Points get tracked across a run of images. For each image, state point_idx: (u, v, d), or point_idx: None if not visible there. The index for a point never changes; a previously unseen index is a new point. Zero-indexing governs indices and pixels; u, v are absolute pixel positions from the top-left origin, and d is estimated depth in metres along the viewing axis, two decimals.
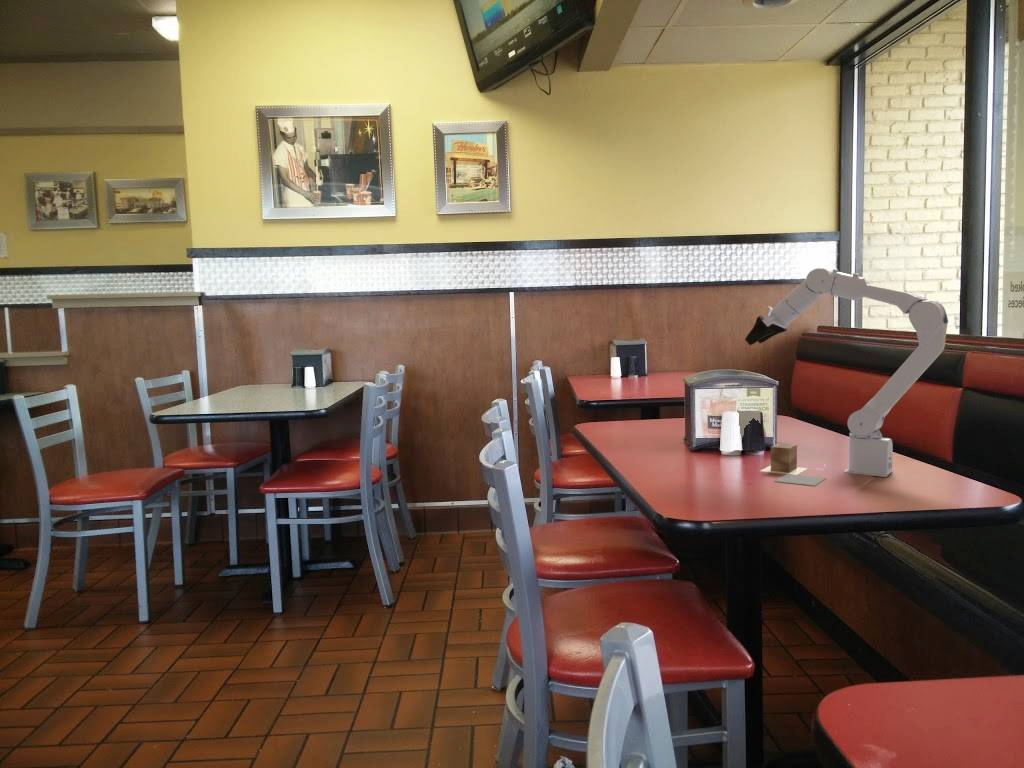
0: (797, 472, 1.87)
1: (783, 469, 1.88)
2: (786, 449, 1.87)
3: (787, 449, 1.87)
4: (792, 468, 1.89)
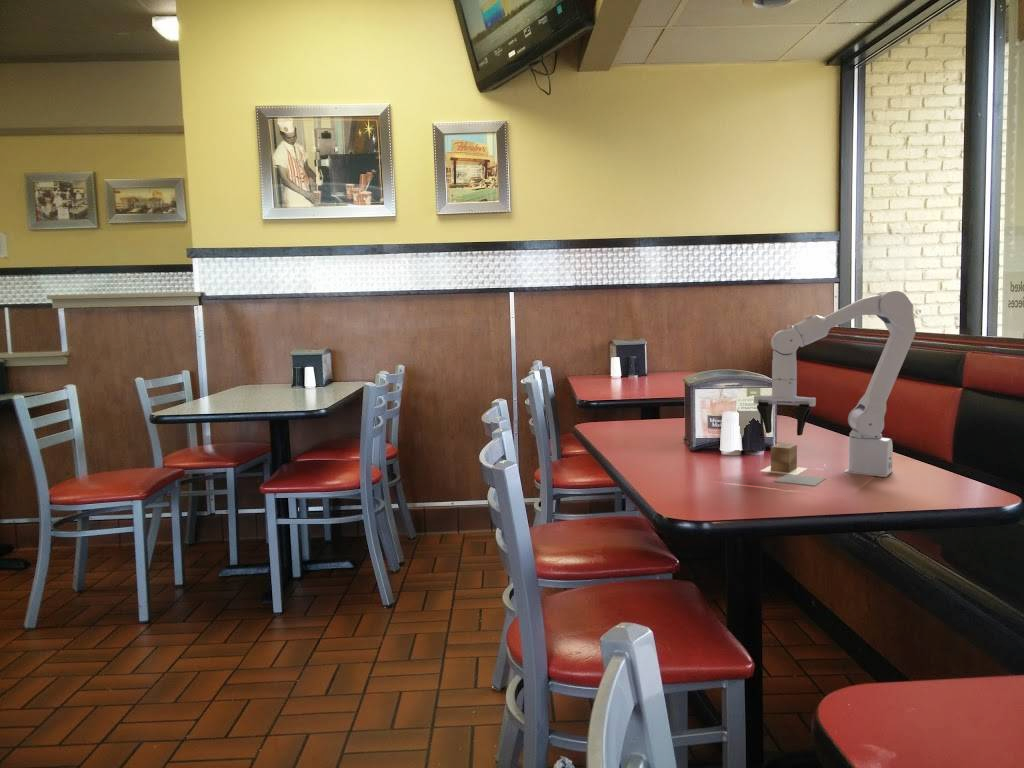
0: (797, 472, 1.87)
1: (783, 469, 1.88)
2: (786, 449, 1.87)
3: (787, 449, 1.87)
4: (792, 468, 1.89)
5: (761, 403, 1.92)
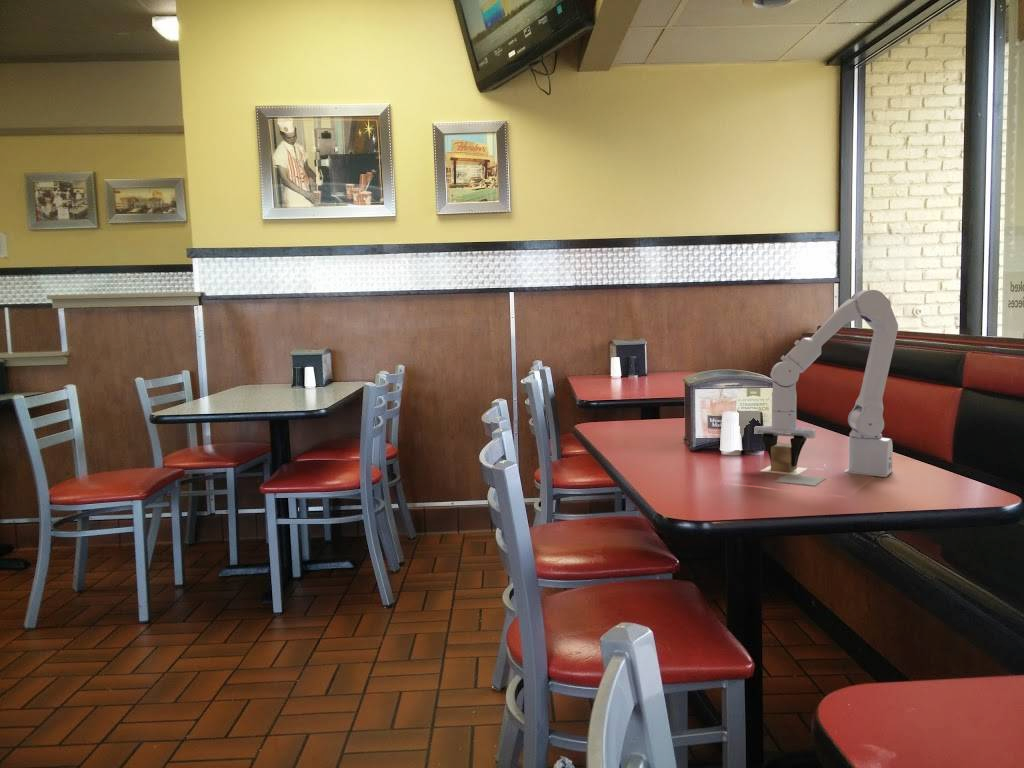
0: (797, 472, 1.87)
1: (783, 469, 1.88)
2: (786, 449, 1.87)
3: (787, 449, 1.87)
4: (792, 468, 1.89)
5: None
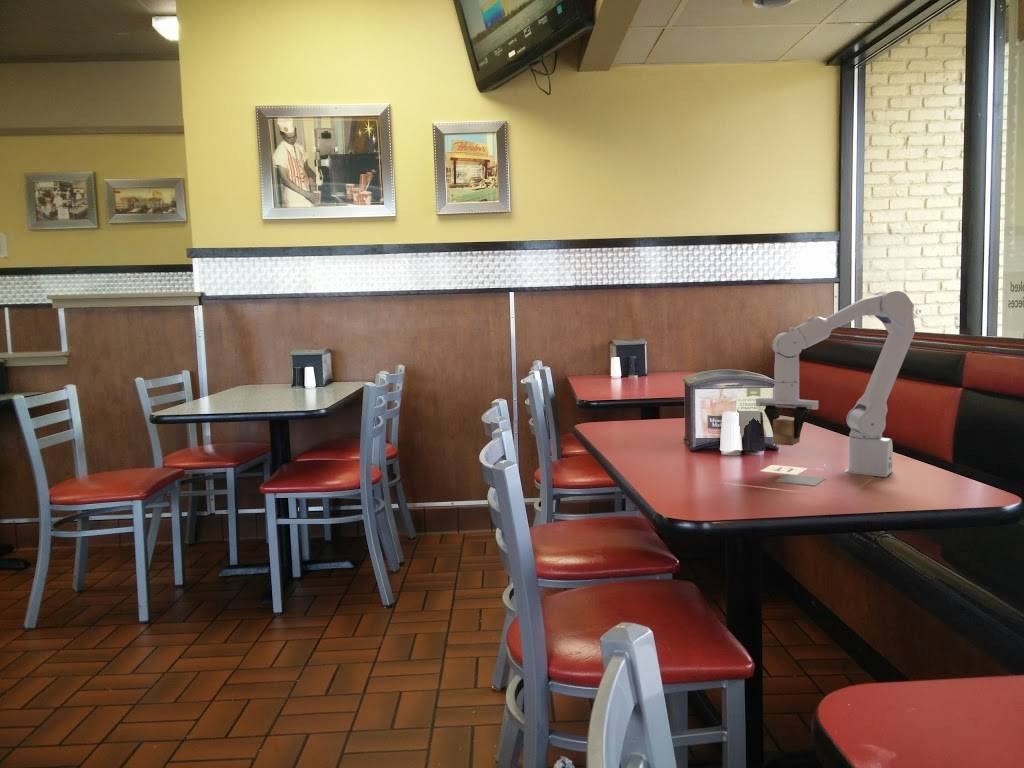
0: (797, 472, 1.87)
1: (785, 442, 1.86)
2: (789, 422, 1.85)
3: (790, 422, 1.85)
4: (795, 441, 1.87)
5: None
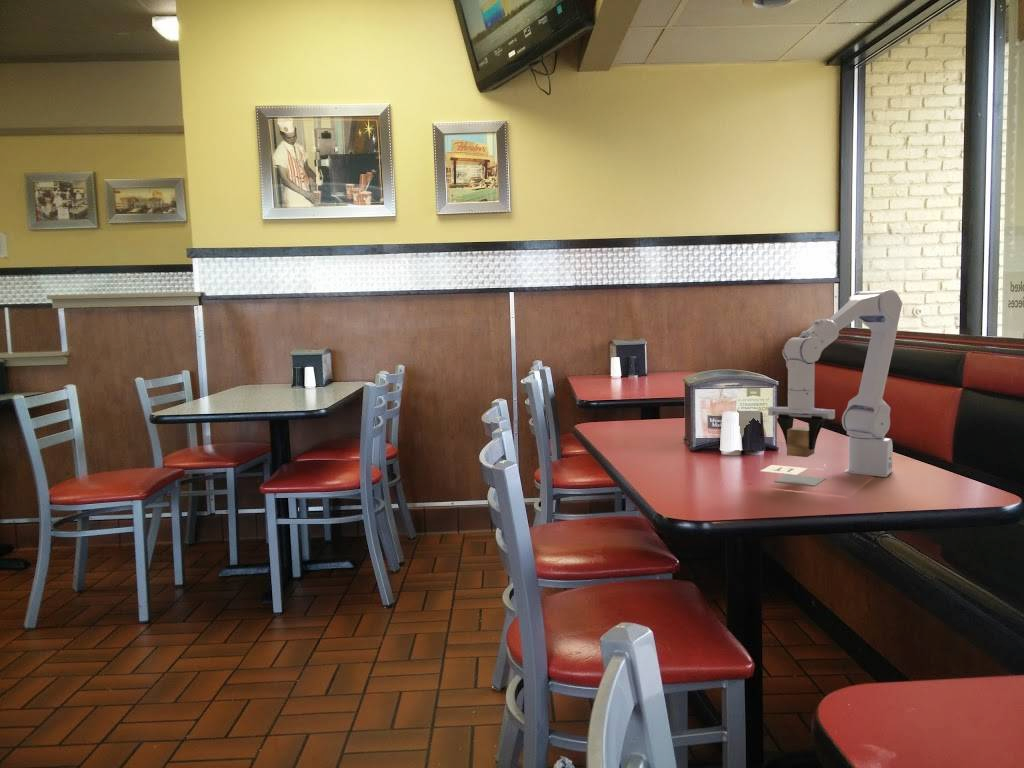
0: (797, 472, 1.87)
1: (800, 453, 1.75)
2: (804, 432, 1.75)
3: (805, 432, 1.74)
4: (810, 452, 1.77)
5: None
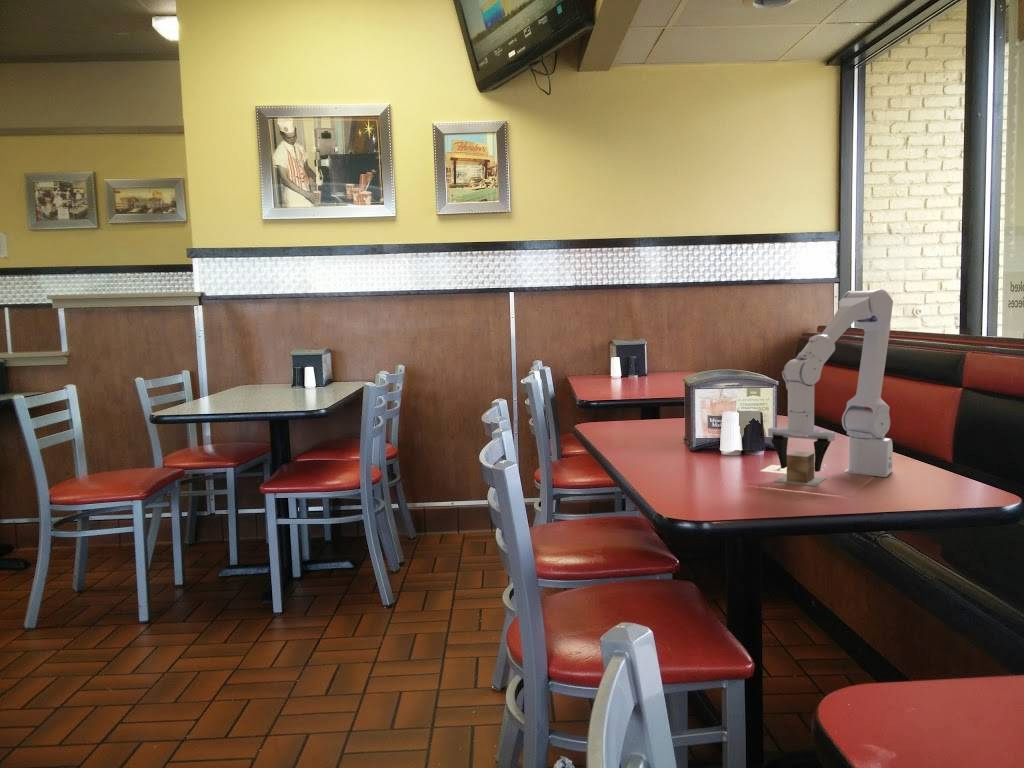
0: None
1: (800, 479, 1.76)
2: (803, 458, 1.75)
3: (804, 458, 1.75)
4: (809, 478, 1.77)
5: (776, 436, 1.80)
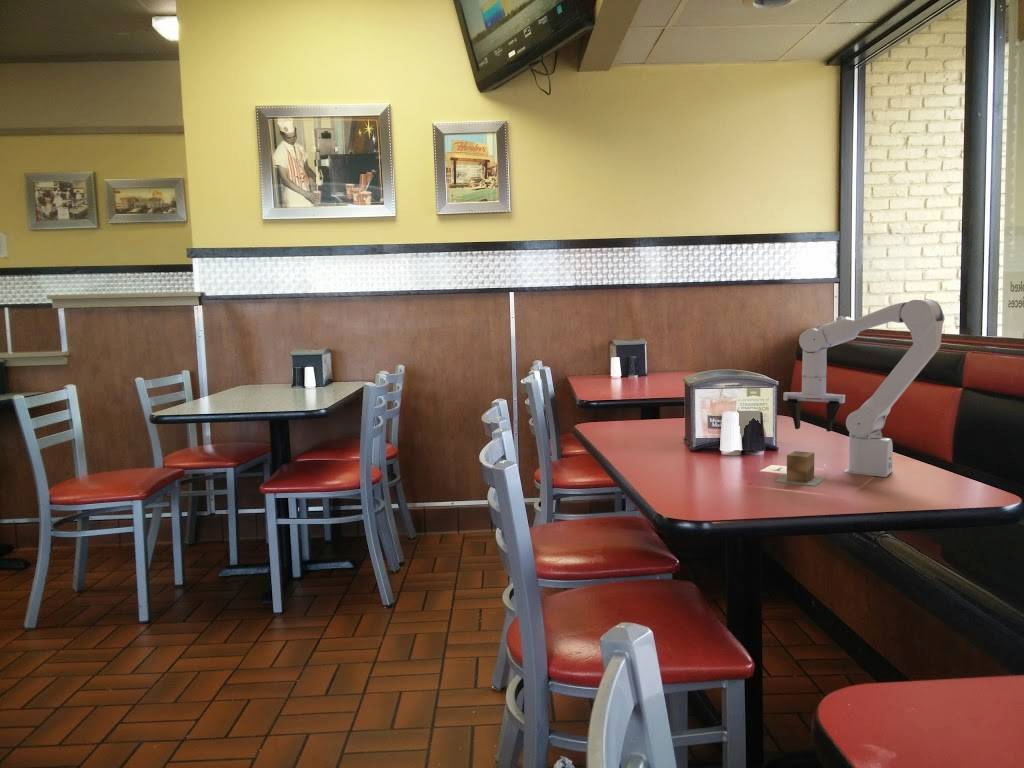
0: None
1: (800, 479, 1.76)
2: (803, 458, 1.75)
3: (804, 458, 1.75)
4: (809, 478, 1.77)
5: (791, 400, 1.97)
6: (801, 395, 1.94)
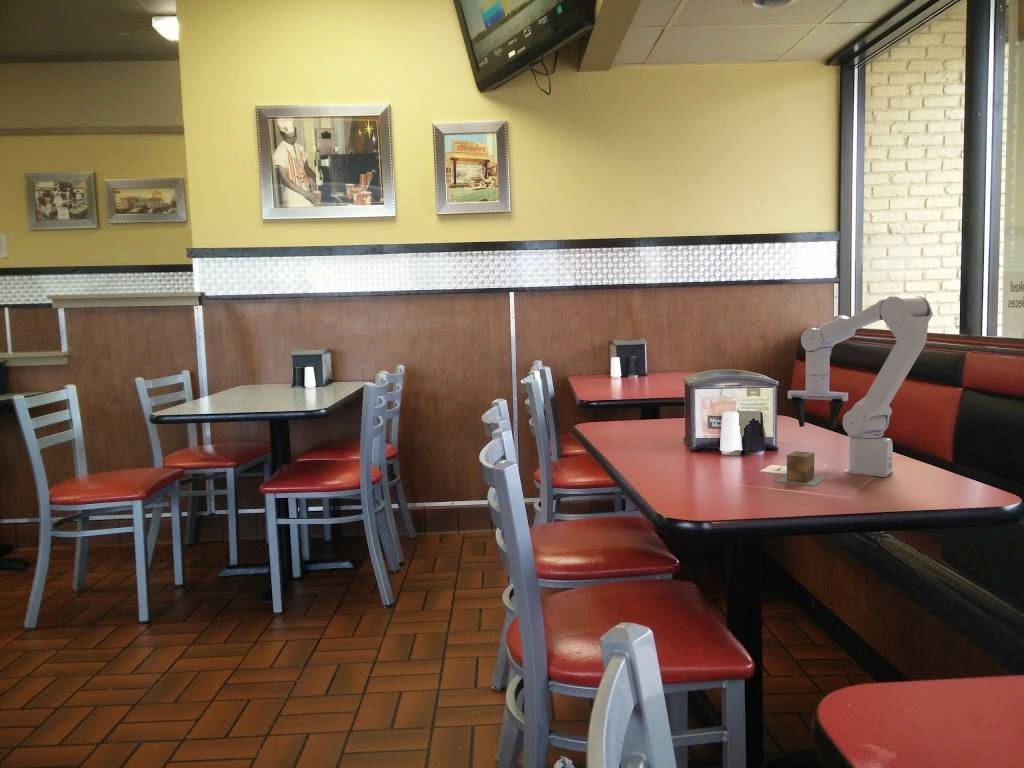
0: None
1: (800, 479, 1.76)
2: (803, 458, 1.75)
3: (804, 458, 1.75)
4: (809, 478, 1.77)
5: (795, 398, 2.01)
6: (805, 393, 1.98)
